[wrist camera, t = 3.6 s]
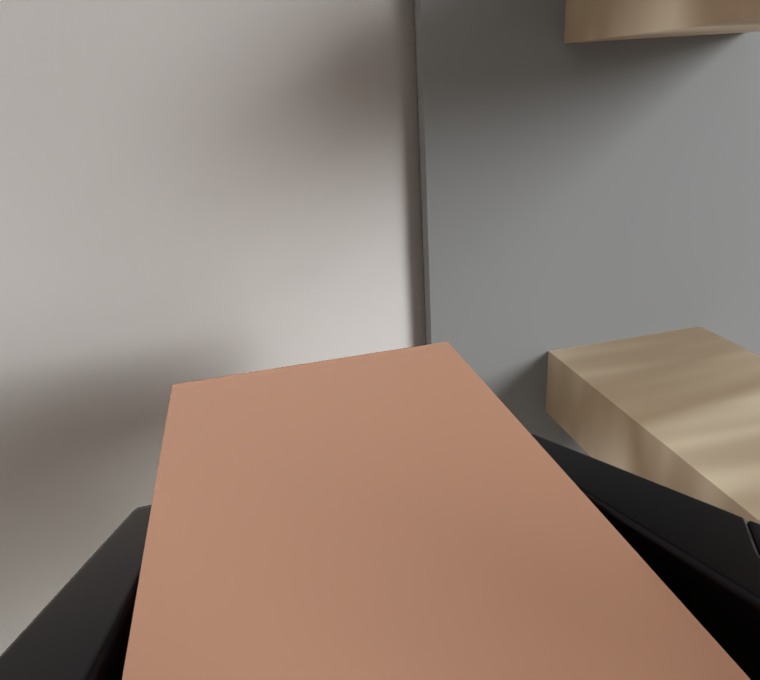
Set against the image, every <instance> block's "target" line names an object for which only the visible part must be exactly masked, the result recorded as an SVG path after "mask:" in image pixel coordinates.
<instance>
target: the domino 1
mask: <svg viewBox="0 0 760 680" xmlns="http://www.w3.org/2000/svg"><path fill="white" fill-rule="evenodd" d="M122 680H751V679H750V678H749V677H748V676H747V675H746V674H745V673H744V671H743V670H742V669H741V668H740V667H739V666H738V665H737V664H736V663H735V661H734V660H733V659H732V658H731V657H730V656H729V655H728V654H727V653H726V651H725V650H724V649H723V648H722V647H721V646H720V645H719V644H718V642H717V641H716V640H715V639H714V638H713V637H712V636H711V635H710V634H709V632H708V631H707V630H706V629H705V628H704V627H703V626H702V625H701V624H700V622H699V621H698V620H697V619H696V618H695V617H694V616H693V615H692V613H691V612H690V611H689V610H688V609H687V608H686V607H685V606H684V605H683V603H682V602H681V601H680V600H679V599H678V598H677V597H676V596H675V595H674V593H673V592H672V591H671V590H670V589H669V588H668V587H667V586H666V584H665V583H664V582H663V581H662V580H661V579H660V578H659V577H658V576H657V574H656V573H655V572H654V571H653V570H652V569H651V568H650V567H649V566H648V564H647V563H646V562H645V561H644V560H643V559H642V558H641V557H640V555H639V554H638V553H637V552H636V551H635V550H634V549H633V548H632V547H631V545H630V544H629V543H628V542H627V541H626V540H625V539H624V538H623V537H622V535H621V534H620V533H619V532H618V531H617V530H616V529H615V528H614V526H613V525H612V524H611V523H610V522H609V521H608V520H607V519H606V518H605V516H604V515H603V514H602V513H601V512H600V511H599V510H598V509H597V508H596V506H595V505H594V504H593V503H592V502H591V501H590V500H589V499H588V497H587V496H586V495H585V494H584V493H583V492H582V491H581V490H580V489H579V487H578V486H577V485H576V484H575V483H574V482H573V481H572V480H571V479H570V477H569V476H568V475H567V474H566V473H565V472H564V471H563V470H562V468H561V467H560V466H559V465H558V464H557V463H556V462H555V461H554V460H553V458H552V457H551V456H550V455H549V454H548V453H547V452H546V451H545V450H544V448H543V447H542V446H541V445H540V444H539V443H538V442H537V441H536V439H535V438H534V437H533V436H532V435H531V434H530V433H529V432H528V431H527V429H526V428H525V427H524V426H523V425H522V424H521V423H520V422H519V421H518V419H517V418H516V417H515V416H514V415H513V414H512V413H511V412H510V410H509V409H508V408H507V407H506V406H505V405H504V404H503V403H502V402H501V400H500V399H499V398H498V397H497V396H496V395H495V394H494V393H493V392H492V390H491V389H490V388H489V387H488V386H487V385H486V384H485V383H484V382H483V380H482V379H481V378H480V377H479V376H478V375H477V374H476V373H475V371H474V370H473V369H472V368H471V367H470V366H469V365H468V364H467V363H466V361H465V360H464V359H463V358H462V357H461V356H460V355H459V354H458V353H457V351H456V350H455V349H454V348H453V347H452V346H451V345H450V344H449V342H441V343H435V344H428V345H422V346H416V347H409V348H403V349H396V350H390V351H384V352H377V353H371V354H364V355H358V356H352V357H345V358H339V359H332V360H326V361H320V362H313V363H307V364H300V365H294V366H288V367H281V368H275V369H268V370H262V371H256V372H249V373H243V374H236V375H230V376H224V377H217V378H211V379H204V380H198V381H191V382H185V383H179V384H172V389H171V394H170V400H169V406H168V412H167V418H166V424H165V430H164V436H163V441H162V447H161V453H160V459H159V465H158V471H157V477H156V483H155V488H154V494H153V500H152V506H151V512H150V518H149V524H148V530H147V535H146V541H145V547H144V553H143V559H142V565H141V571H140V576H139V582H138V588H137V594H136V600H135V606H134V612H133V618H132V623H131V629H130V635H129V641H128V647H127V653H126V659H125V665H124V670H123V676H122Z"/></svg>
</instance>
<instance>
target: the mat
mask: <svg viewBox="0 0 760 680" xmlns="http://www.w3.org/2000/svg"><path fill="white" fill-rule="evenodd" d="M414 4H415V32H416V61H417V90H418V118H419V147H420V176H421V204H422V233H423V262H424V290H425V319H426V345H428V344H435V343H441V342H449V344H450V345H451V346H452V347H453V348H454V349H455V350H456V351H457V353H458V354H459V355H460V356H461V357H462V358H463V359H464V360H465V361H466V363H467V364H468V365H469V366H470V367H471V368H472V369H473V370H474V371H475V373H476V374H477V375H478V376H479V377H480V378H481V379H482V380H483V382H484V383H485V384H486V385H487V386H488V387H489V388H490V389H491V390H492V392H493V393H494V394H495V395H496V396H497V397H498V398H499V399H500V400H501V402H502V403H503V404H504V405H505V406H506V407H507V408H508V409H509V410H510V412H511V413H512V414H513V415H514V416H515V417H516V418H517V419H518V421H519V422H520V423H521V424H522V425H523V426H524V427H525V428H526V429H527V431H528V432H529V433H532V434H535V435H537V436H540V437H542V438H545V439H547V440H550V441H552V442H555V443H557V444H560V445H562V446H565V447H567V448H570V449H572V450H575V451H577V452H580V453H582V454H585V455H587V456H589V455H588V454H587V453H586V452H585V451H584V450H583V449H582V448H581V447H580V446H579V445H578V444H577V443H576V442H575V441H574V440H573V439H572V438H571V437H570V436H569V435H568V434H567V433H566V432H565V431H564V430H563V429H562V428H561V427H560V426H559V425H558V424H557V423H556V422H555V421H554V420H553V419H552V418H551V417H550V416H549V415H548V414H547V413H546V412H545V410H546V390H547V370H548V351H551V350H557V349H563V348H569V347H575V346H582V345H588V344H594V343H600V342H606V341H612V340H619V339H625V338H631V337H637V336H643V335H650V334H656V333H662V332H668V331H674V330H680V329H687V328H693V327H699V326H700V327H702V328H704V329H706V330H708V331H710V332H712V333H714V334H716V335H718V336H720V337H722V338H724V339H726V340H728V341H730V342H732V343H734V344H736V345H738V346H740V347H742V348H744V349H746V350H748V351H750V352H752V353H754V354H756V355H758V356H760V31H756V32H747V33H731V34H714V35H698V36H681V37H664V38H647V39H631V40H614V41H597V42H580V43H564V31H565V11H566V0H414Z"/></svg>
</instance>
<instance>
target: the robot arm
mask: <svg viewBox="0 0 760 680" xmlns="http://www.w3.org/2000/svg"><path fill="white" fill-rule="evenodd" d="M530 434H531V435H532V436H533V437H534V438H535V439H536V441H537V442H538V443H539V444H540V445H541V446H542V447H543V448H544V450H545V451H546V452H547V453H548V454H549V455H550V456H551V457H552V458H553V460H554V461H555V462H556V463H557V464H558V465H559V466H560V467H561V468H562V470H563V471H564V472H565V473H566V474H567V475H568V476H569V477H570V479H571V480H572V481H573V482H574V483H575V484H576V485H577V486H578V487H579V489H580V490H581V491H582V492H583V493H584V494H585V495H586V496H587V497H588V499H589V500H590V501H591V502H592V503H593V504H594V505H595V506H596V508H597V509H598V510H599V511H600V512H601V513H602V514H603V515H604V516H605V518H606V519H607V520H608V521H609V522H610V523H611V524H612V525H613V526H614V528H615V529H616V530H617V531H618V532H619V533H620V534H621V535H622V537H623V538H624V539H625V540H626V541H627V542H628V543H629V544H630V545H631V547H632V548H633V549H634V550H635V551H636V552H637V553H638V554H639V555H640V557H641V558H642V559H643V560H644V561H645V562H646V563H647V564H648V566H649V567H650V568H651V569H652V570H653V571H654V572H655V573H656V574H657V576H658V577H659V578H660V579H661V580H662V581H663V582H664V583H665V584H666V586H667V587H668V588H669V589H670V590H671V591H672V592H673V593H674V595H675V596H676V597H677V598H678V599H679V600H680V601H681V602H682V603H683V605H684V606H685V607H686V608H687V609H688V610H689V611H690V612H691V613H692V615H693V616H694V617H695V618H696V619H697V620H698V621H699V622H700V624H701V625H702V626H703V627H704V628H705V629H706V630H707V631H708V632H709V634H710V635H711V636H712V637H713V638H714V639H715V640H716V641H717V642H718V644H719V645H720V646H721V647H722V648H723V649H724V650H725V651H726V653H727V654H728V655H729V656H730V657H731V658H732V659H733V660H734V661H735V663H736V664H737V665H738V666H739V667H740V668H741V669H742V670H743V671H744V673H745V674H746V675H747V676H748V677H749V678H750V679H751V680H760V524H758V523H756V522H753V521H748V522H747V521H746V519H745V518H743V517H741V516H738V515H736V514H733V513H731V512H728V511H726V510H723V509H720V508H718V507H715V506H713V505H710V504H708V503H705V502H703V501H700V500H698V499H695V498H693V497H690V496H688V495H685V494H683V493H680V492H678V491H675V490H673V489H670V488H668V487H665V486H663V485H660V484H658V483H655V482H653V481H650V480H648V479H645V478H643V477H640V476H638V475H635V474H633V473H630V472H628V471H625V470H623V469H620V468H618V467H615V466H613V465H610V464H608V463H605V462H602V461H600V460H597V459H595V458H592V457H590V456H587V455H585V454H582V453H580V452H577V451H575V450H572V449H570V448H567V447H565V446H562V445H560V444H557V443H555V442H552V441H550V440H547V439H545V438H542V437H540V436H537V435H535V434H532V433H530ZM151 506H152V505H148V506H142V507H138V508H136V509H135V510H134V511H133V512H132V513H131V514H130V515H129V516H128V517H127V518H126V519H125V520H124V522H123V523H122V524H121V525H120V526H119V527H118V528H117V529H116V530H115V531H114V533H113V534H112V535H111V536H110V537H109V538H108V539H107V540H106V541H105V542H104V543H103V545H102V546H101V547H100V548H99V549H98V550H97V551H96V552H95V553H94V554H93V555H92V557H91V558H90V559H89V560H88V561H87V562H86V563H85V564H84V565H83V566H82V568H81V569H80V570H79V571H78V572H77V573H76V574H75V575H74V576H73V577H72V578H71V580H70V581H69V582H68V583H67V584H66V585H65V586H64V587H63V588H62V589H61V590H60V592H59V593H58V594H57V595H56V596H55V597H54V598H53V599H52V600H51V601H50V603H49V604H48V605H47V606H46V607H45V608H44V609H43V610H42V611H41V612H40V613H39V615H38V616H37V617H36V618H35V619H34V620H33V621H32V622H31V623H30V624H29V626H28V627H27V628H26V629H25V630H24V631H23V632H22V633H21V634H20V635H19V636H18V638H17V639H16V640H15V641H14V642H13V643H12V644H11V645H10V646H9V647H8V648H7V650H6V651H5V652H4V653H3V654H2V655H1V656H0V680H122V676H123V670H124V665H125V659H126V653H127V647H128V641H129V635H130V629H131V623H132V618H133V612H134V606H135V600H136V594H137V588H138V582H139V576H140V571H141V565H142V559H143V553H144V547H145V541H146V535H147V530H148V524H149V518H150V512H151Z"/></svg>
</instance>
